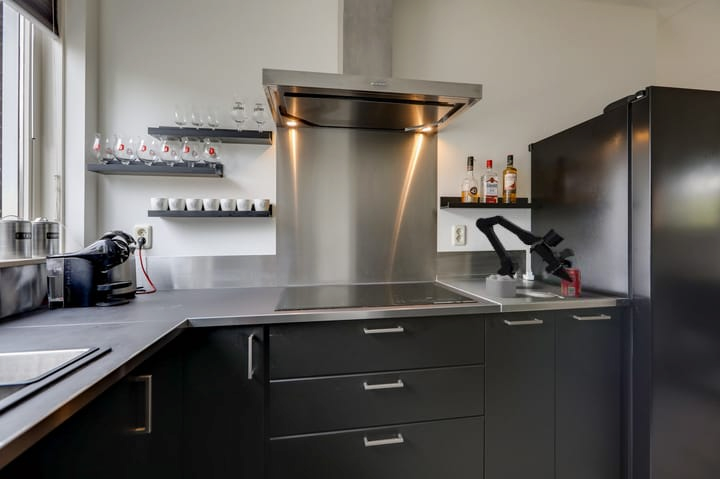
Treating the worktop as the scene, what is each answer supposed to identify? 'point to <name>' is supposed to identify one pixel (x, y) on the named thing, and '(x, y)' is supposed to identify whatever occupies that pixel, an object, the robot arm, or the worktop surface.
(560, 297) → the tear line
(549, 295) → the coaster
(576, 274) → the soda can
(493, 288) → the grey bumpy block
